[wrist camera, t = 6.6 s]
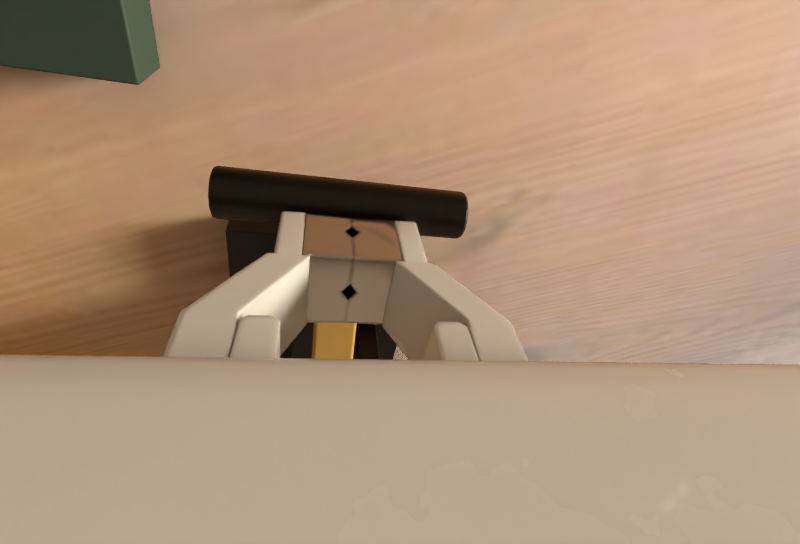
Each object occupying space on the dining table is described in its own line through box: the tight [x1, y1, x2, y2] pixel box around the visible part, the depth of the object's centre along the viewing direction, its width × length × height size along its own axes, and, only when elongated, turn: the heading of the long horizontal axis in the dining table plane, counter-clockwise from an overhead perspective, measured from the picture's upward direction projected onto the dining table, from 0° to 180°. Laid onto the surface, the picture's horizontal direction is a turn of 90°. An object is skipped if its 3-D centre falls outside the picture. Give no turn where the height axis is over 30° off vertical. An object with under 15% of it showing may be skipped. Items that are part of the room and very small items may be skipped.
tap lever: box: [208, 166, 468, 359], centre depth 12 cm, size 14×6×2 cm, turn 169°
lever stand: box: [226, 220, 397, 360], centre depth 18 cm, size 11×9×14 cm
